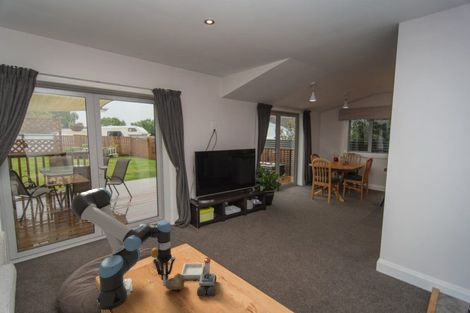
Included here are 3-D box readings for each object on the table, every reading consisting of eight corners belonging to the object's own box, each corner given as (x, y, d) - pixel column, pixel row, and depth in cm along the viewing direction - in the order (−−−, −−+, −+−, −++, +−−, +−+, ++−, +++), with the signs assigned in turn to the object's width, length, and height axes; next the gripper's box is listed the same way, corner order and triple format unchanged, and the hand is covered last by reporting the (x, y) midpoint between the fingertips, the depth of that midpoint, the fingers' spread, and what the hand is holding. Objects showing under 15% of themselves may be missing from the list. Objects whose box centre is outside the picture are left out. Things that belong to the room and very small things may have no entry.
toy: (170, 255, 161) (156, 241, 164) (162, 263, 155) (147, 249, 158) (167, 263, 169) (154, 249, 173) (160, 271, 163) (146, 257, 167)
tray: (180, 279, 145) (180, 275, 145) (184, 266, 159) (184, 262, 159) (202, 279, 146) (202, 274, 145) (203, 266, 160) (204, 262, 159)
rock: (180, 296, 130) (180, 280, 129) (163, 294, 131) (163, 278, 130) (186, 283, 142) (186, 268, 141) (171, 281, 143) (171, 267, 142)
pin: (203, 280, 134) (204, 261, 133) (204, 276, 138) (204, 257, 137) (210, 280, 135) (210, 261, 133) (210, 276, 138) (210, 257, 137)
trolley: (196, 296, 130) (196, 284, 129) (199, 281, 144) (199, 269, 143) (215, 296, 130) (215, 284, 130) (216, 281, 144) (216, 269, 144)
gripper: (151, 250, 129) (152, 289, 131) (173, 250, 130) (174, 288, 132) (155, 244, 137) (156, 280, 139) (176, 244, 137) (177, 280, 139)
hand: (164, 284), depth 135 cm, fingers closed
